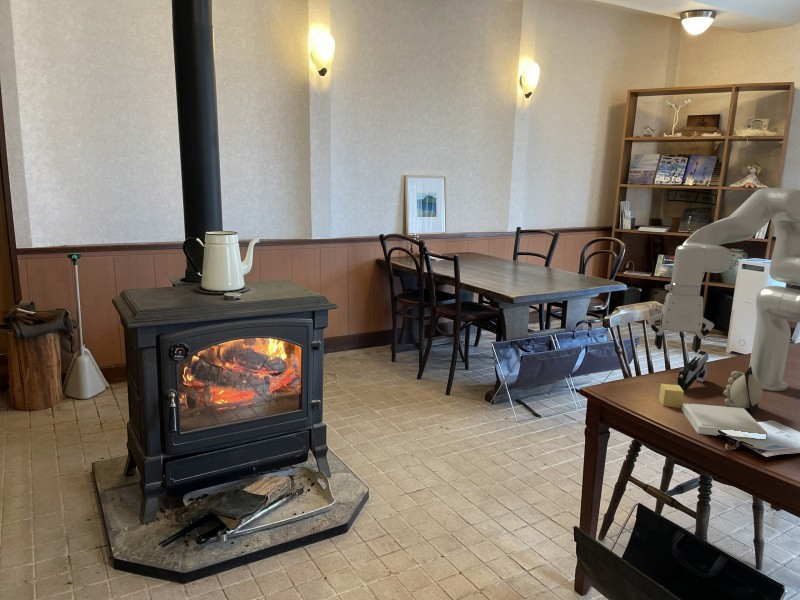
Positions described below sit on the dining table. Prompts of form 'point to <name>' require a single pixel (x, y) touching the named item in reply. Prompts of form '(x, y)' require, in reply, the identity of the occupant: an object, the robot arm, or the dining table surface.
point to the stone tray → (720, 419)
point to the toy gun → (694, 370)
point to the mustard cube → (671, 395)
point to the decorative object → (743, 390)
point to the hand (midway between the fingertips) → (676, 349)
